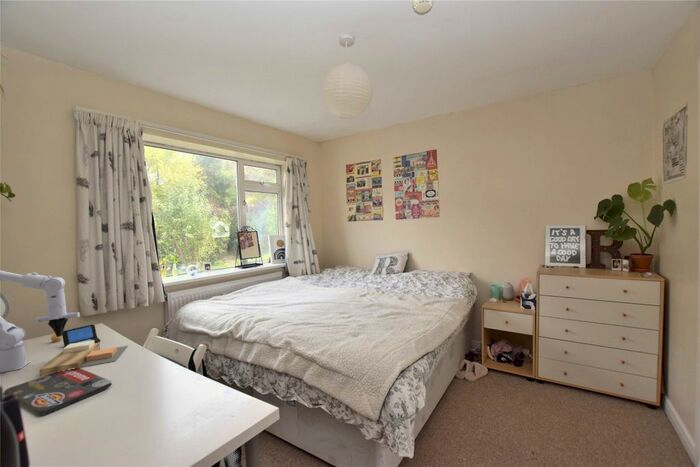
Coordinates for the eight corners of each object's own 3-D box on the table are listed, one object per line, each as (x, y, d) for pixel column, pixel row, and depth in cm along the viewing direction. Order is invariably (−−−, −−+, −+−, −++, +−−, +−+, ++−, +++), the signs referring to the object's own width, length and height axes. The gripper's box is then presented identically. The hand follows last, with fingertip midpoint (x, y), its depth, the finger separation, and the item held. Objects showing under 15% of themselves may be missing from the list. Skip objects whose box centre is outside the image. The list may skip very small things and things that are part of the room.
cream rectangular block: (63, 353, 133) (63, 348, 133) (70, 348, 138) (69, 343, 138) (89, 349, 136) (88, 344, 136) (94, 344, 142) (94, 340, 141)
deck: (39, 375, 118) (39, 369, 118) (67, 353, 139) (66, 348, 139) (78, 368, 123) (78, 362, 123) (99, 348, 143) (99, 342, 143)
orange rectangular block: (86, 361, 129) (85, 356, 129) (92, 355, 134) (91, 351, 134) (112, 356, 132) (111, 352, 132) (116, 351, 138) (116, 347, 138)
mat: (79, 367, 124) (79, 367, 124) (96, 351, 139) (96, 350, 139) (115, 361, 128) (115, 360, 128) (127, 346, 144) (127, 345, 144)
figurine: (49, 341, 156) (47, 318, 155) (65, 337, 161) (62, 314, 160) (53, 344, 151) (51, 320, 150) (69, 340, 156) (67, 316, 155)
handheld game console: (67, 351, 142) (65, 335, 141) (62, 346, 148) (61, 331, 148) (101, 342, 151) (100, 327, 151) (95, 337, 158) (94, 323, 158)
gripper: (29, 310, 127) (32, 342, 127) (73, 305, 132) (76, 335, 133) (39, 305, 133) (42, 336, 134) (80, 301, 138) (83, 330, 139)
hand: (59, 335), depth 134 cm, fingers closed
